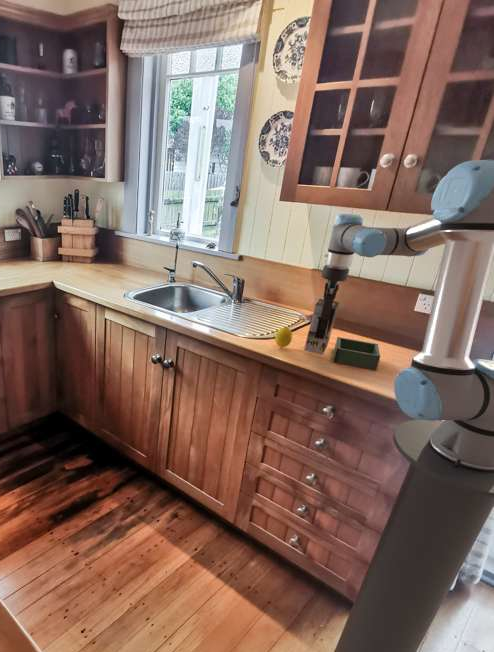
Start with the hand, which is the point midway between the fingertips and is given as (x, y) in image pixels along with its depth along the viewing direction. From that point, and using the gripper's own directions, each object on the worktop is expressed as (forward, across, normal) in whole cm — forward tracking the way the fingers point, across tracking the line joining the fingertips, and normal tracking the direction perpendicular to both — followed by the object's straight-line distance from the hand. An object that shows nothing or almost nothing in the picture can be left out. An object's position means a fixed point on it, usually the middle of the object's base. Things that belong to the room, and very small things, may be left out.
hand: (319, 333), depth 155 cm
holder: (+9, -6, +13) cm, 17 cm away
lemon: (+9, -4, -11) cm, 15 cm away
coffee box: (+6, 0, 0) cm, 6 cm away
